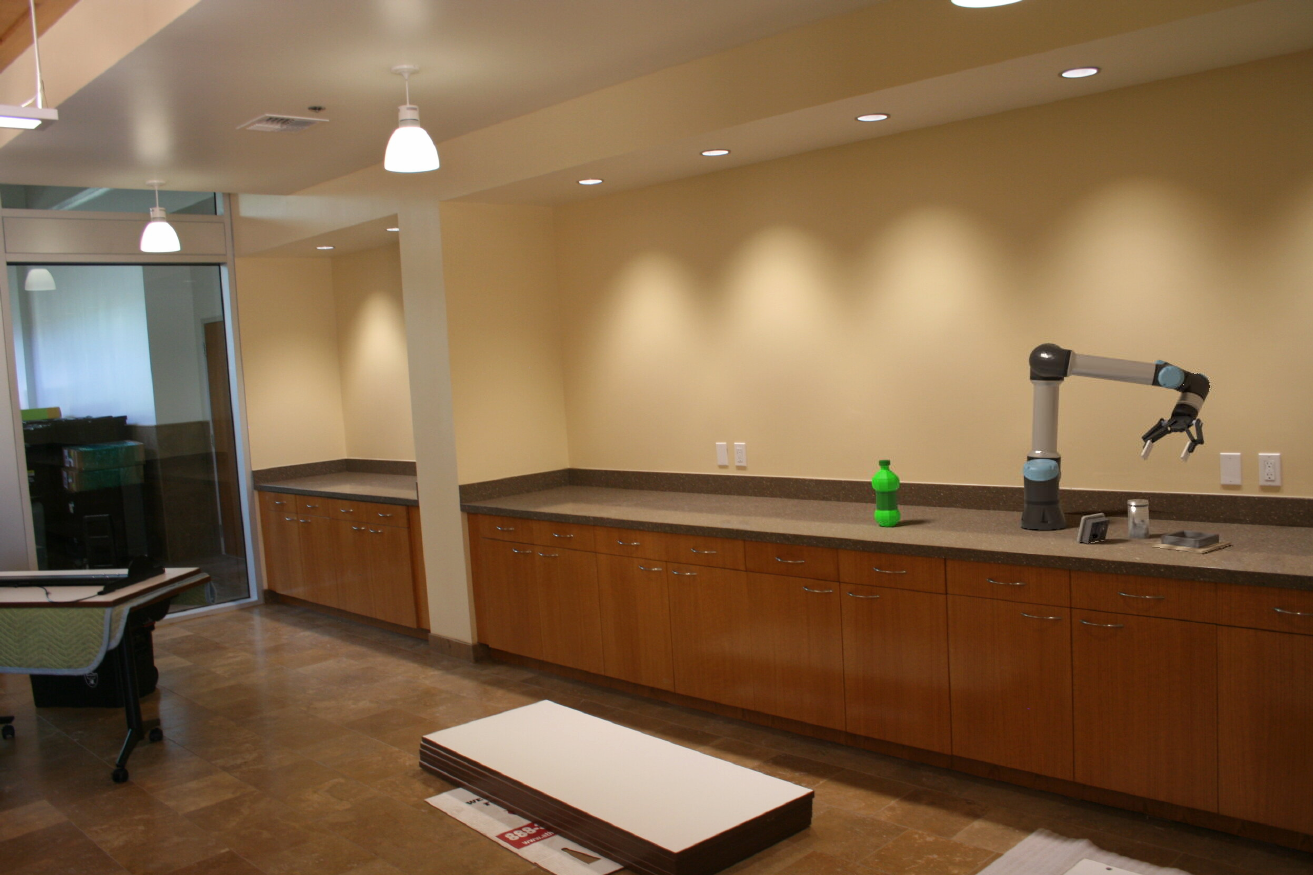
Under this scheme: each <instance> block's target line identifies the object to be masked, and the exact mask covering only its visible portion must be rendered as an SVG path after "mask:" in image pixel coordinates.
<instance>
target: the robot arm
mask: <svg viewBox="0 0 1313 875" xmlns="http://www.w3.org/2000/svg"><path fill="white" fill-rule="evenodd" d="M1028 365H1029V382H1031V384H1032V385H1033V397H1032V398H1033V400H1032V401H1033V402H1032V403H1033V405H1032V426H1031V427H1032V429H1031V430H1032V431H1031V450H1030V451H1029V452H1028V453H1027V454H1026V461H1025V462H1024V464H1023V469H1022V474H1023V489H1024V492H1023V493H1024V494H1023V495H1024V507H1023V509H1022V514H1021V518H1020V521H1019V523H1020V524H1019V525H1020V526H1019V527H1020V528H1021V527H1023V528H1022V529H1024V528H1027V529H1026V530H1029V529H1038V530H1037V531H1053V530H1052V529H1057V530H1062V529H1065V528H1066V527H1067V520H1066V518H1065V514H1064V512H1063V510H1062V507H1061V501H1060V500H1061V498H1060V497H1061V496H1060V481H1061V480H1062V479H1061V478H1062V471H1061V470H1062V469H1061V468H1062V467H1061V466H1062V455H1061V454H1060V453H1059V452H1058V432H1059V431H1058V430H1059V429H1058V427H1059V404H1060V403H1059V400H1060V398H1059V397H1060V386H1061V384H1062V383H1064V382H1065V378H1070V377H1071V376H1075V377H1076V376H1077V377H1084V378H1091V379H1100V380H1105V381H1106V380H1108V381H1115V382H1122V383H1130V384H1138V385H1143V386H1150V387H1151V386H1153V387H1158V388H1164V389H1168V390H1174V391H1176V392H1178V393H1180V395H1179V397H1178V399H1177V401H1176V403H1175V405H1174V408H1173V409H1172V411H1171V414H1170V417H1169V419H1168V420H1167V419H1164V418H1163V417H1161V418H1159V419H1158V421H1157V423H1156V424H1155V425H1153V426H1152V427H1151V428H1150V429H1149V430H1148V431H1147V432H1145V433H1144V434H1143V435H1142V436H1141V440H1142V441H1143V442H1144V444H1143V446H1142V449H1143V450H1142V452H1141V454H1140V456H1141V457H1142V459H1143V460H1144V461H1147V460H1148V459H1149V456H1150V454H1151V452H1152V450H1153V448H1154V446H1155V444H1154V443H1157V441H1159V440H1161V439H1162V438H1164V437H1166V436H1167V435H1171V434H1172V433H1179V434H1181V433H1184V432H1185V433H1186V435H1187V437H1188V438H1189V441H1187V443H1186V444H1185V447H1184V448H1183V451H1182V453H1181V455H1180V458H1181V460H1182V461H1183V462H1184V463H1187V462H1188V460H1189V457H1190V456H1191V454H1193V453H1194V452H1195V449H1196V448H1197V446H1199V445H1200V446H1201V445H1204V444H1205V440H1204V435H1203V434H1204V433H1203V425H1204V423H1203V421H1202V420H1201V418H1197V417H1198V416H1199V413H1200V412H1201V410H1202V407H1203V405H1204V403H1205V402H1206V399H1207V397H1208V395H1209V393H1210V391H1209V388H1210V385H1209V383H1210V382H1209V380H1208V378H1207V377H1206V376H1205V375H1203V374H1201V373H1199V374H1198V373H1197V374H1194V373H1191V372H1192V371H1188V370H1186V369H1183V368H1182V367H1180V366H1177V365H1175V364H1172V363H1169V362H1168V361H1164V360H1161V359H1157V360H1156V361H1155V362H1154V363H1153V362H1148V361H1147V362H1145V361H1137V360H1130V359H1122V358H1115V357H1106V356H1099V355H1090V354H1084V353H1082V354H1081V353H1076V352H1075V351H1074V350H1073V349H1066V348H1062V347H1061V346H1060V345H1057V344H1055V343H1050V342H1048V343H1047V342H1045V343H1041V344H1039V345H1038V346H1036V347H1034V349H1033V350H1032V351H1031V352H1030V354H1029V357H1028ZM1183 384H1184V385H1183ZM1193 426H1194V427H1195V428H1194V429H1195V434H1196V438H1195V437H1194V435H1193V433H1192V431H1191V429H1190V428H1191V427H1193ZM1061 528H1062V529H1061Z"/></svg>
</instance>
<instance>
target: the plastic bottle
mask: <svg viewBox="0 0 1313 875" xmlns="http://www.w3.org/2000/svg"><path fill="white" fill-rule="evenodd" d="M878 466H880V469H879V470H878V471H876V473H875V474H874V475H873V476H872V477H871V487H872V489H873V490H875V504H876V506H875V508H876V509H875V511H874V514H873V515H874V520H875V521H876V522H877V524H879V525H880V526H881V527H882V528H883V527H884V528H886V527H888V528H891V527H895V526H896V525H898V523H899V522H900V519H901V516H902V515H901V512H900V511H899V508H898V507H899V506H898V493H897V492H898V489H899V488H900V484H901V482H900V481H901V480H900V478H899V476H898V475H897V474H896V473H895V472H893V471H892V470H891V469H890V466H891V460H890V459H879V460H878Z"/></svg>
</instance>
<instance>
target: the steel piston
mask: <svg viewBox="0 0 1313 875" xmlns="http://www.w3.org/2000/svg"><path fill="white" fill-rule="evenodd" d="M1126 504H1127V505H1126V506H1127V518H1128V519H1127V520H1128V523H1127V524H1128V538H1130V537H1133V538H1132V539H1135V538H1145V539H1148V538H1147V537H1149V538H1150V519H1149V518H1150V517H1149V515H1150V514H1149V512H1150V511H1149V505H1150V504H1149V500H1148V499H1142V498H1133V499H1128V500H1127V503H1126Z"/></svg>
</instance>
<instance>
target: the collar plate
mask: <svg viewBox="0 0 1313 875" xmlns="http://www.w3.org/2000/svg"><path fill="white" fill-rule="evenodd" d="M1160 539H1161V540H1159V541H1155V542H1151V543H1149V548H1152V547H1160V548H1169V549H1176V550H1185V551H1193V552H1205V551H1209V550H1213V549H1217V548H1221V547H1224V548H1226V547H1225V546H1227V545H1230V544H1231V545H1232V542H1231V541H1224V540H1220V535H1219V533H1212V532H1211V533H1210V532H1202V531H1193V530H1185V529H1180V530H1178V531H1173V532H1170V533H1166V534H1163V535H1160ZM1231 545H1230V546H1231ZM1227 547H1228V546H1227ZM1160 548H1159V549H1160ZM1221 549H1222V548H1221ZM1217 550H1218V549H1217Z"/></svg>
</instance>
